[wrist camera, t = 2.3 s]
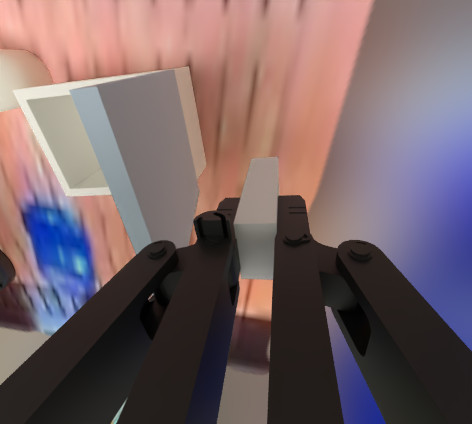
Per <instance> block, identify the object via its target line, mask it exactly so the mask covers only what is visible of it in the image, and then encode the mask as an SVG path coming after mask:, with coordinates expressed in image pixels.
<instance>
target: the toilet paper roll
mask: <svg viewBox="0 0 472 424" xmlns="http://www.w3.org/2000/svg"><path fill="white" fill-rule="evenodd" d="M50 84H53V81H52V78H51V75H50V73H49V71H48V69H47V68H46V66H45V65H44V64H43V62H42V61H41V60H40V59H39V58H38V57H36V56H35V55H34V54H32V53H30V52H28V51H25V50H11V49H0V112H2V111H7V110H11V109H16V108H21V107H20V105H19V103H18V101H17V99H16V97H15V95H14V93H13V91H12V90H16V89H23V88H29V87H36V86H43V85H50Z"/></svg>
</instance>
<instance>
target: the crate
mask: <svg viewBox="0 0 472 424" xmlns="http://www.w3.org/2000/svg"><path fill="white" fill-rule="evenodd" d="M173 69H174V71H175V76H176V81H177V86H178V90H179V95H180V100H181V105H182V110H183V115H184V119H185V124H186V129H187V134H188V139H189V144H190V148H191V153H192V158H193V163H194V168H195V172H196V177H197V180H198V179H199V177H200V175H201V174H202V172H203V171H204V169H205V167H206V166H207V164H206V158H205V153H204V147H203V142H202V136H201V130H200V125H199V119H198V114H197V108H196V103H195V97H194V92H193V86H192V80H191V75H190V69H189V66H188V67H180V68H172V69H165V70H157V71H149V72H141V73H133V74H126V75H118V76H110V77H102V78H94V79H87V80H79V81H71V82H64V83H57V84H50V85H43V86H36V87H29V88H23V89H16V90H12V91H13V93H14V95H15V97H16V99H17V101H18V103H19V105H20V107H21V109H22V111H23V112H24V114H25V116H26V118H27V120H28V122H29V124H30V126H31V128H32V130H33V132H34V134H35V136H36V138H37V140H38V142H39V144H40V146H41V148H42V149H43V151H44V153H45V155H46V157H47V159H48V161H49V163H50V165H51V167H52V169H53V171H54V173H55V175H56V177H57V179H58V181H59V183H60V185H61V186H62V188H63V190H64V192H65V194H66V196H94V195H112V194H111V192H110V189H109V187H108V184H107V182H106V179H105V177H104V175H103V172H102V170H101V167H100V165H99V162H98V160H97V157H96V155H95V153H94V150H93V148H92V145H91V143H90V140H89V138H88V135H87V133H86V130H85V128H84V126H83V123H82V121H81V118H80V116H79V113H78V111H77V108H76V106H75V104H74V101H73V99H72V96H71V94H70V91H69V90H72V89H77V88H82V87H86V86H91V85H96V84H101V83H106V82H111V81H116V80H121V79H126V78H130V77H135V76H140V75H145V74H150V73H155V72H160V71H166V70H173Z"/></svg>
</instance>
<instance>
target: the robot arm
mask: <svg viewBox="0 0 472 424" xmlns="http://www.w3.org/2000/svg"><path fill="white" fill-rule="evenodd" d="M193 222H194V226H195V231H196V235H197V241H196V243H195V244H194V245H191V246H187V247H182V248H177V249H176V246H175V244H174V243H173V242H171V241H168V240H160V241H155V242H153V243H151V244H148V245H147V246H146V247H144V248H143V249H142V250H141V251H140V252H139V253H138V254H137V255H136V256H135V257H134V258H133V259H132V260H130V261H129V262H128V263H127V264H126V265H125V266H124V267H123V268H122V269H121V270H120V271H119V272H118V273H117V274H116V275H115V276H114V277H113V278H112V279H111V280H110V281H109V282H108V283H106V284H105V285H104V286H103V287H102V288H101V289H100V290H99V291H98V292H97V293H96V294H95V295H94V296H93V297H92V298H91V299H90V300H89V301H88V302H87V303H86V304H85V305H83V306H82V307H81V308H80V309H79V310H78V311H77V312H76V313H75V314H74V315H73V316H72V317H71V318H70V319H69V320H68V321H67V322H66V323H65V324H64V325H63V326H62V327H61V328H59V329H58V330H57V331H56V332H55V333H54V334H53V335H52V336H51V337H50V338H49V339H48V340H47V341H46V342H45V343H44V344H43V345H42V346H41V347H40V348H39V349H38V350H37V351H35V352H34V353H33V354H32V355H31V356H30V357H29V358H28V359H27V360H26V361H25V362H24V363H23V364H22V365H21V366H20V367H19V368H18V369H17V370H16V371H15V372H14V373H13V374H11V375H10V376H9V378H7V379H6V380H5V381H4V382H3V383H2V384H1V385H0V424H111V422H112V420H113V419H114V417H115V416H116V414H117V413H118V411H119V410H120V408H121V407H122V405H123V404H124V402H125V401H126V402H125V405H124V407H123V409H122V411H121V414H120V416H119V418H118V420H117V423H116V424H217V418H218V412H219V407H220V400H221V395H222V389H223V383H224V377H225V372H226V366H227V360H228V354H229V348H230V342H231V337H232V331H233V325H234V319H235V313H236V307H237V302H238V296H239V290H240V287H239V274H241V279H268V280H273V293H272V318H271V342H270V367H269V392H268V417H267V424H344V421H343V415H342V408H341V403H340V396H339V390H338V384H337V378H336V372H335V366H334V361H333V354H332V348H331V342H330V336H329V330H328V324H327V318H326V312H325V306H328V307H331V310H332V312H333V315H334V317H335V319H336V321H337V323H338V325H339V327H340V329H341V331H342V333H343V335H344V337H345V339H346V342H347V344H348V346H349V348H350V350H351V352H352V354H353V356H354V358H355V360H356V362H357V364H358V366H359V368H360V370H361V373H362V375H363V377H364V379H365V381H366V383H367V385H368V387H369V389H370V391H371V393H372V395H373V397H374V399H375V401H376V404H377V406H378V408H379V409H380V412H381V414H382V416H383V418H384V420H385V422H386V424H472V351H471V350H470V349H469V348H468V347H467V346H466V345H465V344H464V342H463V341H462V340H461V339H460V338H459V337H458V336H457V335H456V333H455V332H454V331H453V330H452V329H451V328H450V327H449V326H448V325H447V324H446V322H445V321H444V320H443V319H442V318H441V317H440V316H439V315H438V313H437V312H436V311H435V310H434V309H433V308H432V307H431V306H430V305H429V303H428V302H427V301H426V300H425V299H424V298H423V297H422V296H421V294H420V293H419V292H418V291H417V290H416V289H415V288H414V287H413V285H411V283H410V282H409V281H408V280H407V279H406V278H405V277H404V275H403V274H402V273H401V272H400V271H399V270H398V269H397V268H396V267H395V265H394V264H393V263H392V262H391V261H390V260H389V259H388V258H387V256H386V255H385V254H384V253H383V252H382V251H381V250H380V249H379V248H378V247H376V246H375V245H373V244H371V243H368V242H365V241H360V240H349V241H345V242H343V243H341V244H340V245H339V246H338V248H333V247H329V246H325V245H322V244H320V243H318V242H317V241H315V240H314V239H313V237H312V235H311V234H310V230H309V223H308V217H307V210H306V204H305V200H304V199H303V198H302V197H301V196H300V195H290V196H279V166H278V157H264V158H251V162H250V166H249V169H248V173H247V177H246V180H245V184H244V187H243V191H242V195H241V198H225V199H224V200H223V201H222V202H220V203H219V206H218V208H217V211H208V212H205V213H202V214H200V215H198V216H197V217H196V218H195V219H194V220H193ZM14 277H15V271H14V268H13V266H12V264H11V263H10V261H9V260H8V259H7V257H6V256H5V255H4V254H3V253H2V252H1V251H0V291H1V290H2V289H4V288H5V287H6V286H7V285H8V284H10V283H11V282H12V281H13V280H14ZM152 293H153V294H154V295H153V296H152V297H151V298H150V299H149V300H148V298H149V297H150V296H151V295H152ZM127 397H128V398H127ZM126 399H127V400H126Z"/></svg>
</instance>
